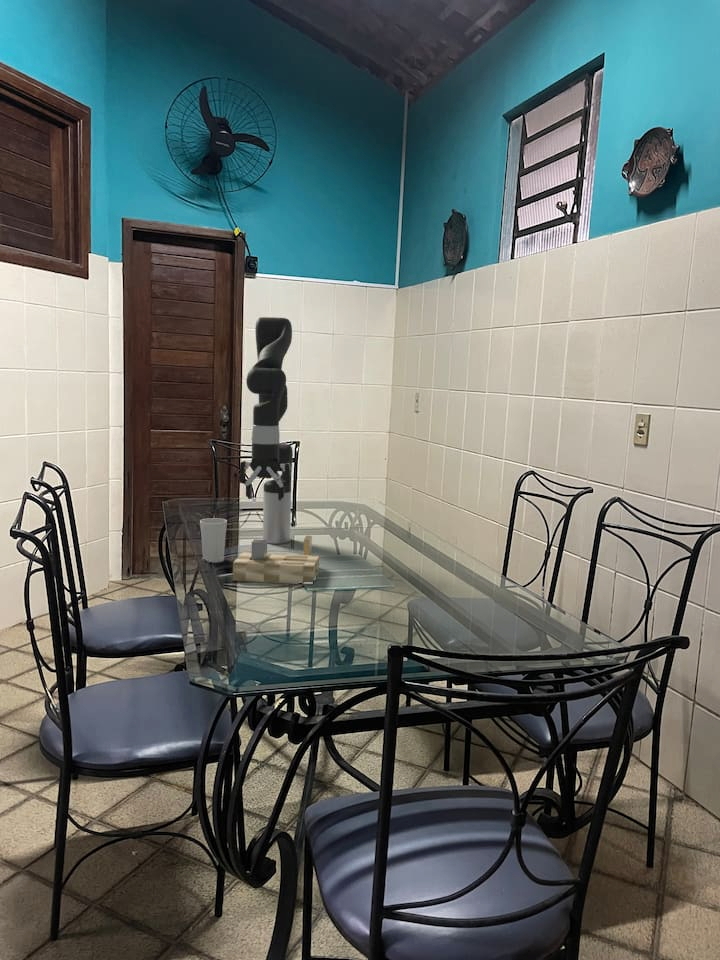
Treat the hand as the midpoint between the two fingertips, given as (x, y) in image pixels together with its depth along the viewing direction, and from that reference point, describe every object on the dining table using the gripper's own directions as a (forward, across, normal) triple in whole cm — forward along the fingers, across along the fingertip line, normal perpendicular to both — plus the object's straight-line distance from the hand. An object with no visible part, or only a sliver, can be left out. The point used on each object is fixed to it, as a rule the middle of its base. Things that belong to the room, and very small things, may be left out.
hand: (264, 499), depth 193 cm
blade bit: (+22, -11, -8) cm, 26 cm away
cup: (+22, +18, -11) cm, 30 cm away
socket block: (+21, -4, +3) cm, 22 cm away
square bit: (+21, +1, +3) cm, 22 cm away
